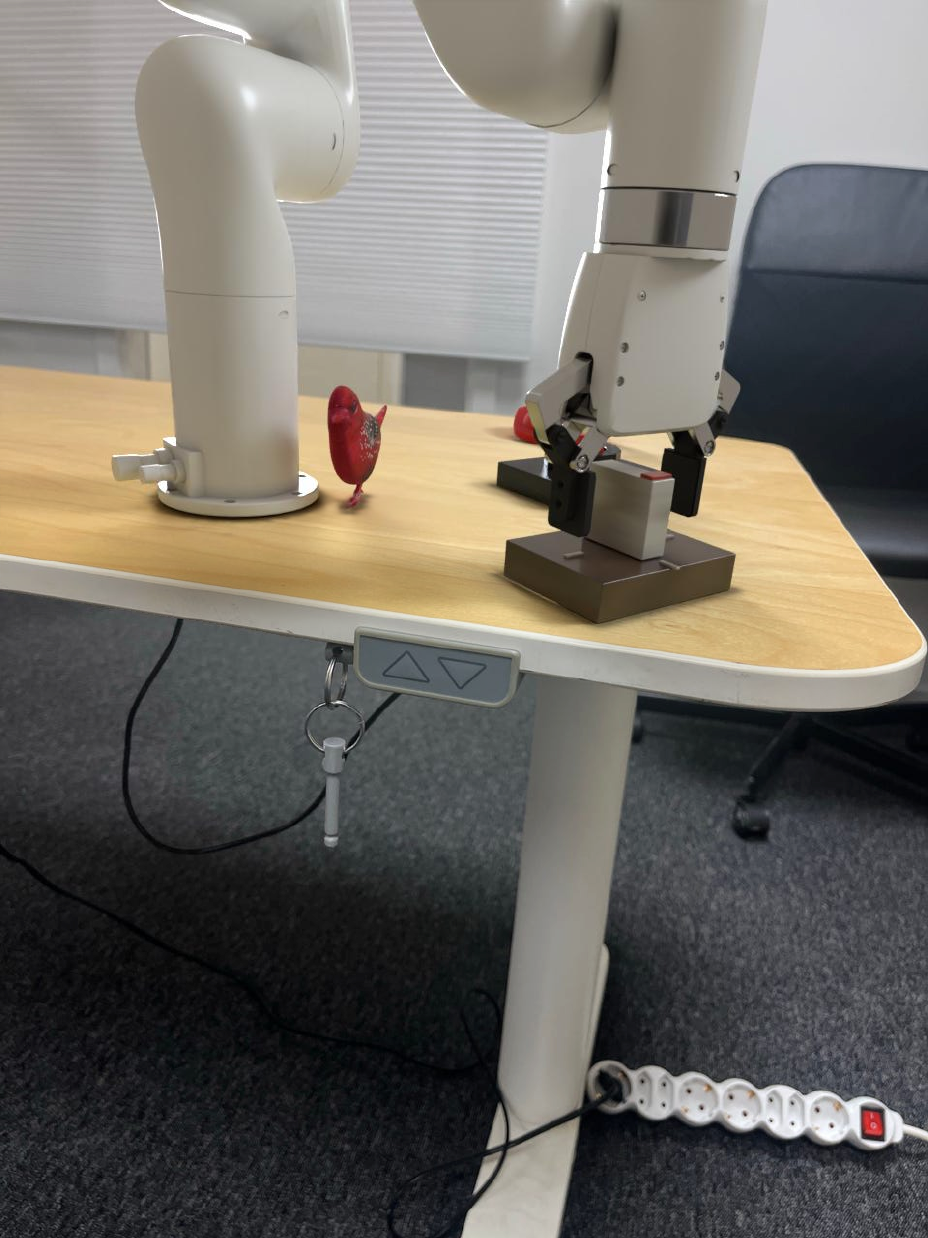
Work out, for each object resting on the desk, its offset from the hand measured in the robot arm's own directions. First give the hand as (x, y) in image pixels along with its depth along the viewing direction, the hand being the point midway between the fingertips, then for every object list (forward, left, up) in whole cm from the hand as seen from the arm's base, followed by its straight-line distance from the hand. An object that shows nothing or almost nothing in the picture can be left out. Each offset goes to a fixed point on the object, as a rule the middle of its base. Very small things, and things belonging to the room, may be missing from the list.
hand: (624, 520), depth 57 cm
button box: (+14, +19, -4) cm, 24 cm away
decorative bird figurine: (-5, +25, -4) cm, 26 cm away
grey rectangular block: (0, 0, -2) cm, 2 cm away
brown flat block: (0, 0, -4) cm, 4 cm away
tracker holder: (+28, +37, -4) cm, 47 cm away
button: (+14, +19, -1) cm, 24 cm away
